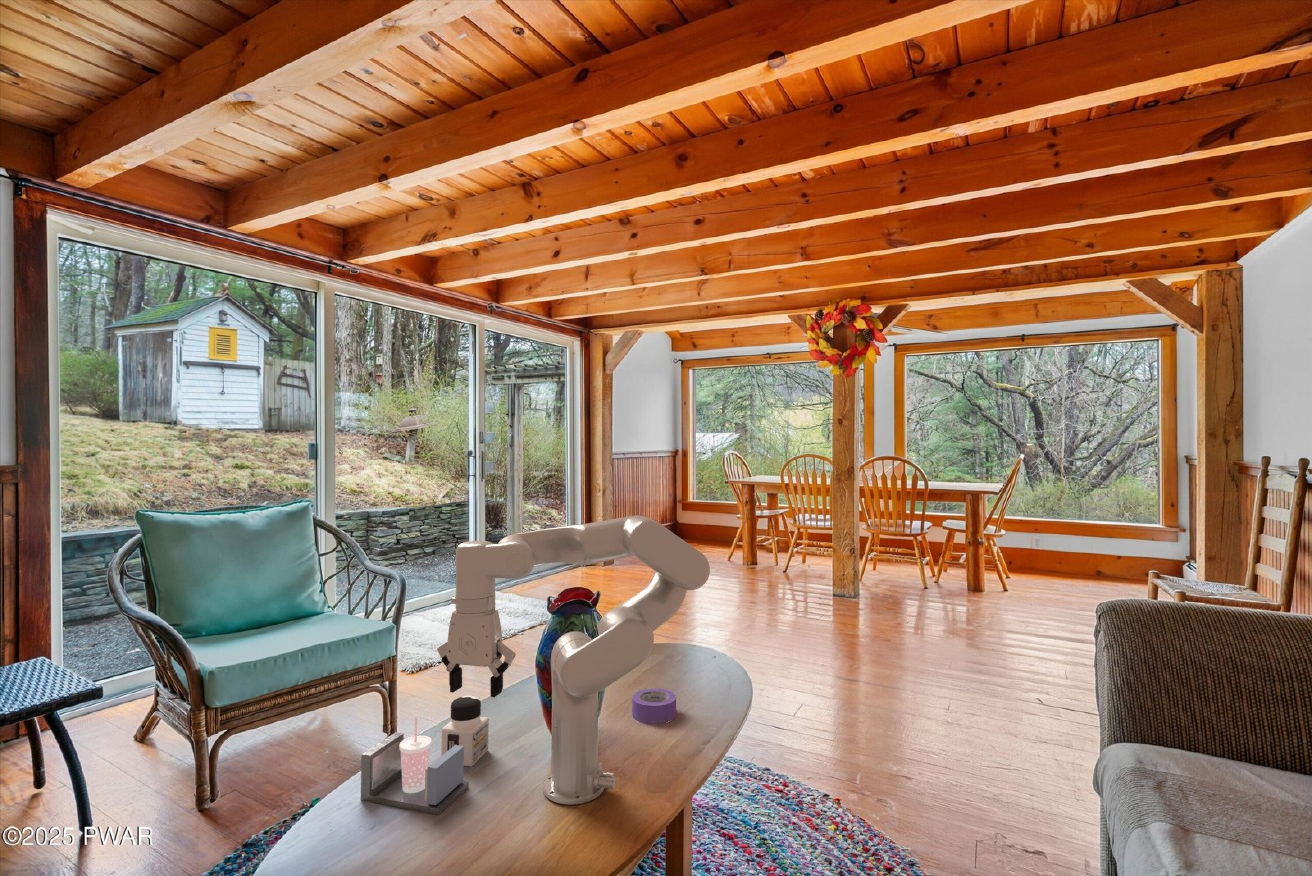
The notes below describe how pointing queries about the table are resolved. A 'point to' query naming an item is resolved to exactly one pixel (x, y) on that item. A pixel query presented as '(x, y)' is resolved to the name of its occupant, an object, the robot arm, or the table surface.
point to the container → (466, 729)
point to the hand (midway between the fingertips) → (476, 692)
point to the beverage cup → (414, 761)
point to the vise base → (396, 779)
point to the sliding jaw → (444, 775)
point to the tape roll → (653, 706)
